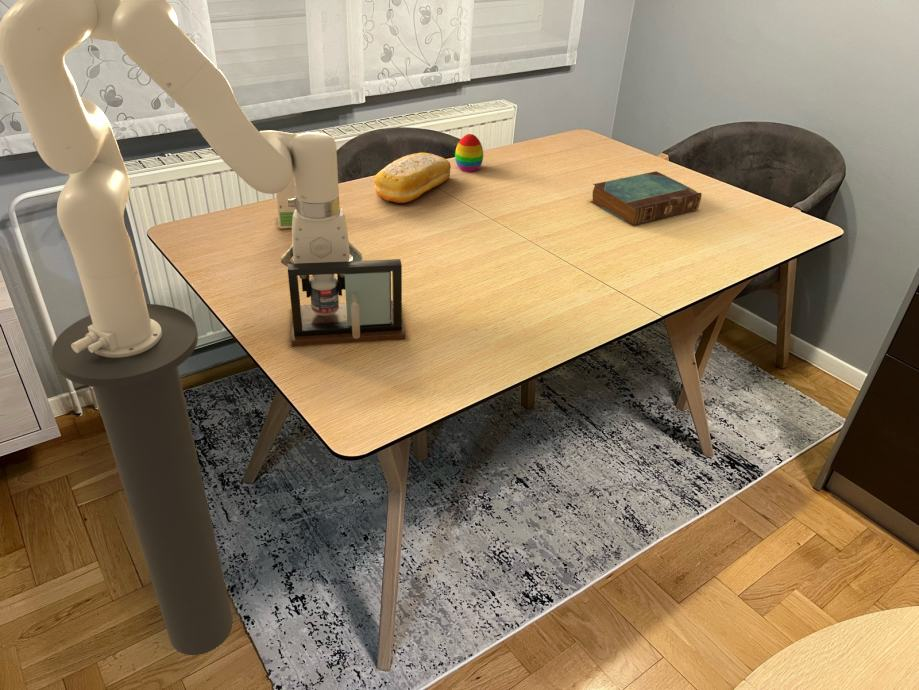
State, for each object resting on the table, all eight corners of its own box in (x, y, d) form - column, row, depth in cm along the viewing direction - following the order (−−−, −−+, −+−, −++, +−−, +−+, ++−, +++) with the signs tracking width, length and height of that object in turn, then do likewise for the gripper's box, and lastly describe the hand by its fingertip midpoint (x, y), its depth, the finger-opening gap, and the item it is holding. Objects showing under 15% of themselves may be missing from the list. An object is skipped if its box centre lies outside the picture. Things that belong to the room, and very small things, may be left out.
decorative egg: (461, 161, 217) (462, 128, 212) (486, 166, 215) (488, 132, 209) (450, 170, 211) (451, 136, 205) (476, 175, 208) (478, 141, 203)
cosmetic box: (278, 229, 174) (271, 166, 165) (278, 217, 179) (272, 156, 171) (314, 227, 176) (309, 165, 167) (313, 216, 181) (308, 155, 172)
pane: (393, 341, 132) (392, 289, 126) (348, 344, 131) (346, 291, 125) (389, 321, 138) (389, 270, 132) (347, 323, 137) (344, 272, 130)
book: (633, 226, 184) (637, 208, 181) (589, 201, 196) (592, 183, 194) (697, 210, 194) (702, 193, 191) (652, 187, 207) (655, 170, 204)
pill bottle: (321, 319, 139) (318, 278, 134) (306, 308, 142) (303, 267, 137) (344, 310, 142) (342, 270, 137) (329, 299, 145) (327, 259, 140)
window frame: (405, 339, 138) (405, 268, 129) (292, 346, 134) (284, 273, 126) (398, 305, 148) (398, 237, 139) (292, 310, 145) (286, 241, 136)
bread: (365, 200, 191) (364, 171, 186) (414, 168, 210) (414, 141, 206) (409, 211, 186) (409, 181, 181) (456, 178, 206) (457, 150, 201)
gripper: (267, 215, 125) (278, 305, 135) (367, 212, 128) (370, 300, 138) (269, 197, 131) (279, 285, 141) (365, 195, 134) (367, 281, 144)
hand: (324, 292), depth 139 cm, fingers closed on pill bottle, 5 cm apart
